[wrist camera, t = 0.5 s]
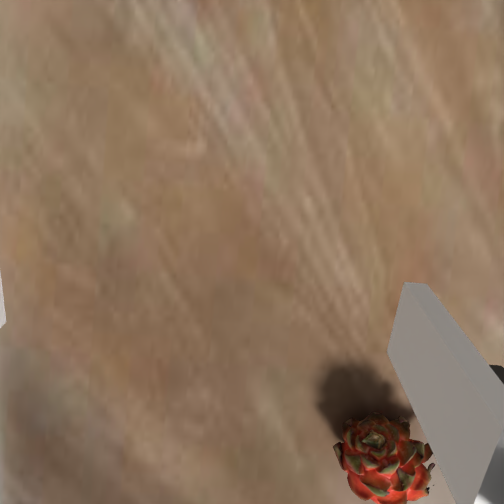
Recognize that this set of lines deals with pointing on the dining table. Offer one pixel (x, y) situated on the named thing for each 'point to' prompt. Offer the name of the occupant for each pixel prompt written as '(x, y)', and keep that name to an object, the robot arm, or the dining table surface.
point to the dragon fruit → (384, 460)
